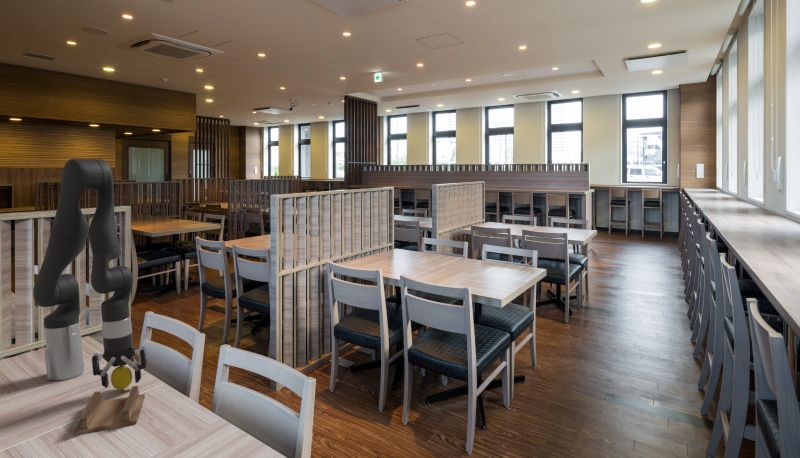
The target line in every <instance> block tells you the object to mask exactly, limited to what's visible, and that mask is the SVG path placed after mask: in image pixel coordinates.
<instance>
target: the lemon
mask: <svg viewBox="0 0 800 458" xmlns="http://www.w3.org/2000/svg"><path fill="white" fill-rule="evenodd" d="M132 381H133V373H132V370H131V369H130V368H129V367H128V366H126V365H124V366H121V365H119V366H116V367H115V368H114V369H113V370H112V372H111V375H110V383H111V386H112V387H113V389H116V390H120V391H125V389H126V388H128V387H129V386H130V385H131V383H132Z"/></svg>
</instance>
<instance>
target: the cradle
mask: <svg viewBox="0 0 800 458" xmlns="http://www.w3.org/2000/svg"><path fill="white" fill-rule="evenodd" d="M101 394H102V393H101V391H95V392H93V394H92V395H91V398H90V400H88V404H87V405H86V407H85V409H84V410H83V412H82V414H81V416H80V418H79V420H78V422H77V425H76V427H75V428H74V430H73V436H75V435H82V434H87V433H93V432H98V431H104V430H110V429H115V428H121V427H122V428H123V427H127V426H132V425H137V424H138V421H139V417H140V415H141V411H142V408H143V406H144V405H143V404H144V401H145V399H146V395H145V394H140V390H139V385H133V386H132V387H131V389H130V391H129V394H128V396H126V397H120V398H113V399H107V400H102V395H101Z"/></svg>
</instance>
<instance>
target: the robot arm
mask: <svg viewBox="0 0 800 458" xmlns="http://www.w3.org/2000/svg"><path fill="white" fill-rule="evenodd" d="M60 179H61V181H60V189H59V196H58V201H57V208H56V212H55V215H54V219H53V221H52V222H53V223H52V226H51V228H50V229H51V230H50V234H49V236H48V243H47V247H46V251H45V255H44V258H43V260H42V264H41V266H40V268H39V271H38V273H37V276H36V278H35V281H34V283H33V287H32V288H33V289H32V294H33V295H32V297H33V300H34V302H35V304H36V305H37V306H38V307H41V308H49V307H55V306H57V307H56V309H54V310H53V311H52V312H51V313H49V314H47V315H46V316H45V317H44V318H43V328H44V337H45V338H44V339H45V345H46V346H45V347H46V350H45V351H44V359H45V360H44V361H45V369H46V377H47V378H46V379H47V381H65V380H70V379H72V378H75V377H78V376H80V375H82V374H83V373H84V372H85V363H84V354H83V344H82V343H83V342H82V335H81V325H80V315H81V301H80V300H81V296H80V294H81V293H80V286H79V285H80V284H79V282H78V280H77V278H76V276H74V275H73V274H72V273H64V271H65V270H66V268H67V267H68V266H69V265H70V264H71V263H72V262H74V261H75V259H77V257H78V256H80V254H81V253H82V252H83V250H84V249H85V246H86V243H87V239H89V245H90V248H91V252H92V263H91V264H92V266H91V274H90V285H91V287H92V289H93V290H94V291H95V292H96V293H98V294H100V295H101V294H102V295H104V294H105V295H106V294H108V293H113V292H114V293H113V295H112V296H110V297H109V298H107V299H105V300H103V301H102V302H101V305H100V311H101V320H102V321H101V322H102V323H101V335H102V343H103V353H100V354H99V353H94V354H93V355H92V357H91V364H92V376H94V377H95V376H99V377H100V380H101V386H102V387H103V388H108V387H109V384H110V383H109V374H108V372H109V370H110V368H111V367H115V368H117V367H119V366H120V365H121V366H126V365H127V366H129V367H130V368H132V369H133V370H134V379H135V380H134V381H135V383H136V384H137V383H139V381H141V379H142V370H144V369H146V368H147V365H148V361H147V350H146V349H147V348H146V347H145V346H144V347H143V346H141V348H137V349H135V347H134V340H133V339H134V338H133V330H132V329H133V328H132V327H133V325H132V321H131V320H132V319H131V317H130V315H131V314H130V306H129V303H130V299H131V293H132V289H133V284H134V274H133V271H132V270H131V269H130V268H129V267H128V266H126V265H118V266H113V267H112V266H111V267H109V263H110V261H112V260H115V259H118V258H119V257H120V256H121V252H122V251H121V247H120V241H119V237H118V233H117V227H116V221H115V219H116V218H115V194H114V193H115V191H114V190H115V189H114V175H113V171H112V168H111V166H110V165H109V163H108V162H107V161H106V160H104V159H101V158H70V159H68V160H67V161H66V162H65V164H64V166H63V169H62V173H61V178H60ZM84 191H87V192H88V191H95V193H96V198H97V199H96V201H97V202H96V207H95V208H96V209H95V211H94V214H93V217H92V220H91V221H90V225H89V222H88V219H87V218H86V216H85V215H84V213H83V211H82V209H81V207H80V201H81V195H82V193H83V192H84ZM135 354H136V355H137V356H138V357H140V363H139V362H138V361H137V360H136V359H135V357H134V356H135ZM102 359H103V360H104V361H106V362H107V363H106V365H105V366H104V367H103V369H100V362H101V361H102Z"/></svg>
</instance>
